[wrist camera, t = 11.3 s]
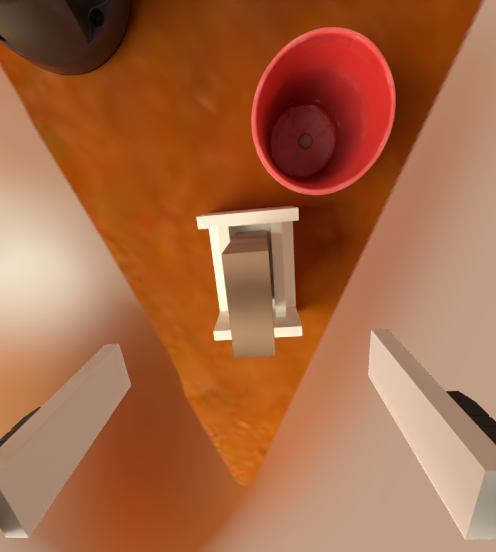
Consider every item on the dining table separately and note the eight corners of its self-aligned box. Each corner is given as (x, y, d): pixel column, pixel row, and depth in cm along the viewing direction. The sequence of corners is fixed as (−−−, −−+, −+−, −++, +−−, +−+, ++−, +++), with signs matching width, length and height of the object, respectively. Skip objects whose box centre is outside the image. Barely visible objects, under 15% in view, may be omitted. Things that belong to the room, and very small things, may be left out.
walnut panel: (270, 299, 32) (275, 355, 21) (243, 301, 33) (233, 357, 21) (265, 229, 30) (269, 250, 18) (235, 232, 30) (220, 254, 19)
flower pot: (373, 123, 27) (432, 84, 18) (312, 212, 30) (335, 219, 21) (291, 62, 26) (308, -14, 16) (236, 162, 29) (224, 146, 19)
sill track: (208, 213, 30) (196, 216, 25) (291, 205, 30) (298, 207, 24) (222, 316, 35) (214, 340, 29) (295, 312, 34) (302, 335, 28)
